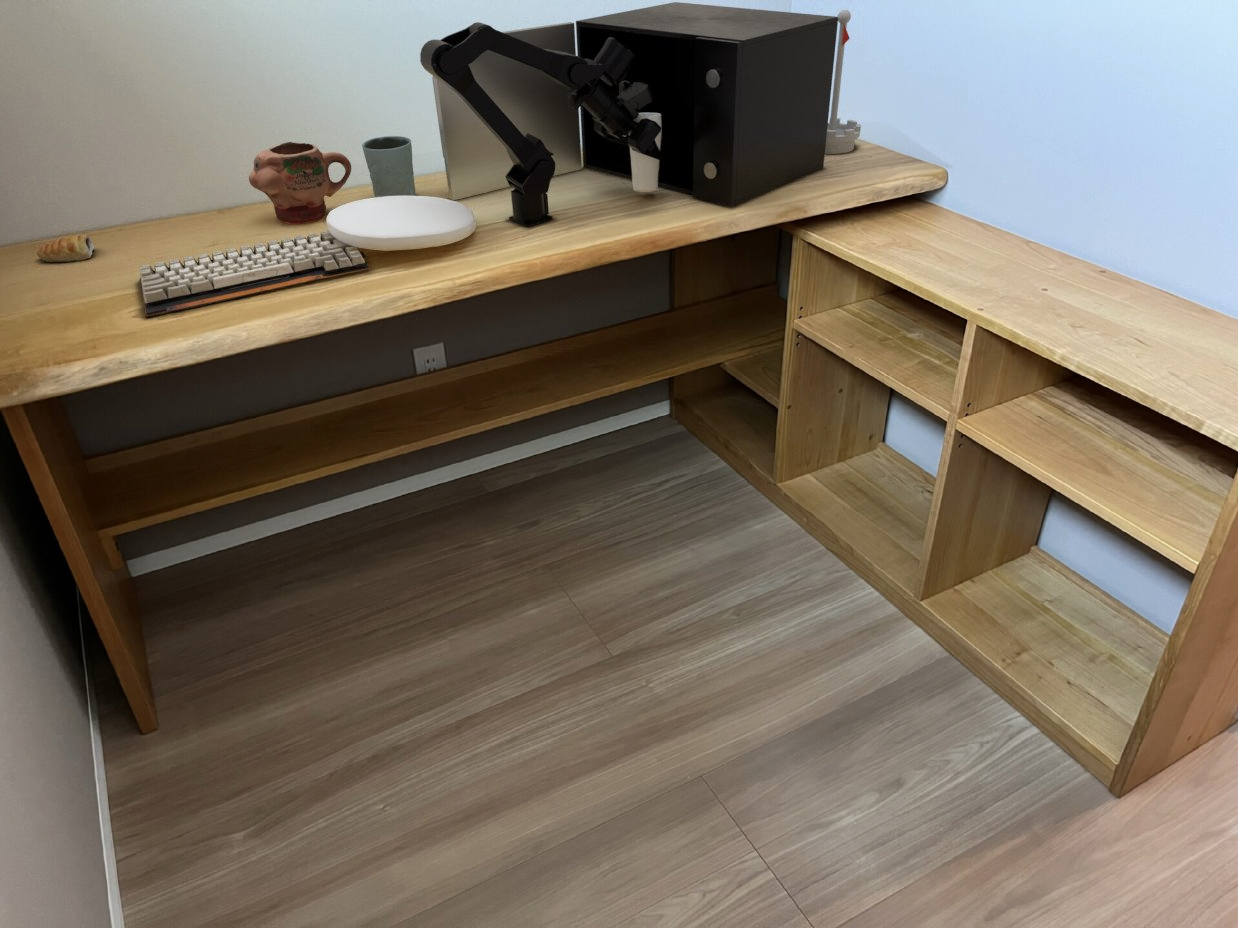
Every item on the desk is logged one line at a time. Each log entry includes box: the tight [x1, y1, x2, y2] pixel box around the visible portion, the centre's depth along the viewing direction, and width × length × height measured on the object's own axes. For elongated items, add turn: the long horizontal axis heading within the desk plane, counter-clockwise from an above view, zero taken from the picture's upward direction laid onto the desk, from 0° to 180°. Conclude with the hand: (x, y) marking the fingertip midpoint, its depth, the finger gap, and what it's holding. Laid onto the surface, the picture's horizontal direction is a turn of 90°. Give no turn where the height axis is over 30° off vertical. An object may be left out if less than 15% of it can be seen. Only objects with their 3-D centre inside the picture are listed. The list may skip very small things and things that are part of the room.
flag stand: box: [825, 9, 862, 155], centre depth 207 cm, size 13×13×30 cm
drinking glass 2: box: [629, 113, 662, 193], centre depth 184 cm, size 7×7×15 cm
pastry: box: [35, 233, 95, 263], centre depth 168 cm, size 9×7×4 cm
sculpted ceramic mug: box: [248, 141, 352, 225], centre depth 181 cm, size 20×12×14 cm, turn 117°
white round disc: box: [325, 195, 477, 252], centre depth 169 cm, size 28×6×27 cm
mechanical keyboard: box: [138, 229, 370, 318], centre depth 158 cm, size 38×19×3 cm, turn 118°
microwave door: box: [431, 21, 583, 201], centre depth 192 cm, size 7×34×31 cm, turn 127°
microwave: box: [575, 1, 839, 208], centre depth 195 cm, size 35×44×31 cm
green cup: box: [361, 135, 417, 198], centre depth 189 cm, size 10×10×12 cm
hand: (651, 154), depth 185 cm, fingers closed on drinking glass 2, 7 cm apart
